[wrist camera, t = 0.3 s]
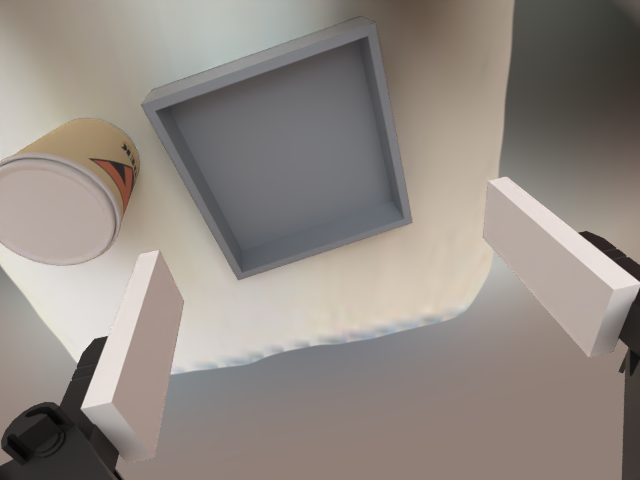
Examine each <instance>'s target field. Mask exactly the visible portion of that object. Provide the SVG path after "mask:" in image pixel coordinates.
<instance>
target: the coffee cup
mask: <svg viewBox="0 0 640 480" xmlns="http://www.w3.org/2000/svg"><path fill="white" fill-rule="evenodd" d="M138 170H139V157H138V153H137V150H136V148H135V146H134V144H133V143H132V141H131V140H130V138H129V137H128V136H127V135H126V134H125V133H124V132H123V131H121V130H120V129H119V128H117V127H116V126H114V125H112V124H110V123H108V122H105V121H102V120H98V119H92V118H81V119H75V120H72V121H70V122H68V123H66V124H64V125H62V126H60V127H58V128H57V129H55V130H53V131H52V132H50V133H48V134H47V135H45V136H43V137H42V138H40V139H38V140H37V141H35V142H33V143H32V144H30V145H28V146H27V147H25V148H23V149H22V150H20V151H19V152H17V153H16V154H14V155H13V156H10V157H7V158H5V159H3V160H1V161H0V243H2V244H3V245H4V246H5V247H6V248H8V249H10V250H11V251H13V252H15V253H16V254H18V255H20V256H22V257H25V258H27V259H29V260H32V261H36V262H39V263H43V264H49V265H58V266H59V265H75V264H80V263H84V262H86V261H89V260H91V259H94V258H96V257H98V256H100V255H101V254H103V253H104V252H106V251H107V250H108V249H109V248H110V247H111V246H112V244H113V243H114V242H115V240H116V238H117V236H118V233H119V230H120V225H121V221H122V218H123V215H124V213H125V210H126V207H127V204H128V201H129V198H130V195H131V192H132V189H133V187H134V184H135V181H136V178H137V174H138Z"/></svg>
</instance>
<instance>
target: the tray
mask: <svg viewBox="0 0 640 480" xmlns="http://www.w3.org/2000/svg"><path fill="white" fill-rule="evenodd" d="M141 106H142V108H143V109H144V111H145V113H146V115H147V117H148V118H149V120H150V122H151V124H152V126H153V128H154V129H155V131H156V133H157V135H158V137H159V138H160V140H161V142H162V144H163V146H164V147H165V149H166V151H167V153H168V155H169V156H170V158H171V160H172V162H173V164H174V165H175V167H176V169H177V171H178V173H179V174H180V176H181V178H182V180H183V182H184V183H185V185H186V187H187V189H188V191H189V192H190V194H191V196H192V198H193V200H194V202H195V203H196V205H197V207H198V209H199V211H200V212H201V214H202V216H203V218H204V220H205V221H206V223H207V225H208V227H209V229H210V230H211V232H212V234H213V236H214V238H215V239H216V241H217V243H218V245H219V247H220V248H221V250H222V252H223V254H224V256H225V257H226V259H227V261H228V263H229V265H230V266H231V268H232V270H233V272H234V274H235V276H236V277H237V279H238V280H241V279H244V278H247V277H250V276H253V275H256V274H259V273H262V272H265V271H268V270H271V269H274V268H277V267H280V266H283V265H286V264H289V263H292V262H295V261H298V260H301V259H304V258H307V257H310V256H313V255H316V254H319V253H322V252H325V251H328V250H331V249H335V248H338V247H341V246H344V245H347V244H350V243H353V242H356V241H359V240H362V239H365V238H368V237H371V236H374V235H377V234H380V233H383V232H386V231H389V230H392V229H395V228H398V227H401V226H404V225H407V224H410V223H413V222H412V217H411V211H410V206H409V201H408V195H407V190H406V184H405V179H404V174H403V168H402V163H401V158H400V152H399V147H398V141H397V136H396V131H395V125H394V120H393V115H392V109H391V104H390V98H389V93H388V88H387V82H386V77H385V72H384V66H383V61H382V55H381V50H380V45H379V39H378V34H377V29H376V23H375V22H374V21H372V20H369V19H367V18H364V17H362V16H359V17H357V18H354V19H351V20H348V21H345V22H342V23H340V24H337V25H334V26H331V27H328V28H325V29H323V30H320V31H317V32H314V33H311V34H308V35H306V36H303V37H300V38H297V39H294V40H291V41H289V42H286V43H283V44H280V45H277V46H275V47H272V48H269V49H266V50H263V51H260V52H258V53H255V54H252V55H249V56H246V57H243V58H241V59H238V60H235V61H232V62H229V63H226V64H224V65H221V66H218V67H215V68H212V69H209V70H207V71H204V72H201V73H198V74H195V75H192V76H190V77H187V78H184V79H181V80H178V81H175V82H173V83H170V84H167V85H164V86H161V87H159V88H156V89H153V90H152V91H151V92H150V94H149V95H148V96H147V97H146V99H145V100H144V101H143V103H142V104H141Z"/></svg>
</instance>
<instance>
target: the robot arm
mask: <svg viewBox="0 0 640 480" xmlns="http://www.w3.org/2000/svg"><path fill="white" fill-rule="evenodd" d="M483 238H484V239H485V240H486V242H487V243H488V244H489V245H490V246H491V247H492V248H493V250H494V251H495V252H496V253H497V254H498V255H499V256H500V257H501V258H502V260H503V261H504V262H505V263H506V264H507V265H508V266H509V268H510V269H511V270H512V271H513V272H514V273H515V274H516V276H517V277H518V278H519V279H520V280H521V281H522V282H523V283H524V285H525V286H526V287H527V288H528V289H529V290H530V291H531V292H532V294H533V295H534V296H535V297H536V298H537V299H538V300H539V301H540V303H541V304H542V305H543V306H544V307H545V308H546V309H547V310H548V312H549V313H550V314H551V315H552V316H553V317H554V319H556V321H557V322H558V323H559V324H560V325H561V326H562V327H563V329H564V330H565V331H566V332H567V333H568V334H569V335H570V336H571V338H572V339H573V340H574V341H575V342H576V343H577V344H578V346H579V347H580V348H581V349H582V350H583V351H584V352H585V353H586V355H587V356H588V357H589V358H590V357H594V356H599V355H603V354H607V353H612V352H614V349H615V347H616V345H617V342H618V340H619V338H620V339H621V340H622V341H623V342H624V343H625V344H626V345H627V346H628V347H629V349H628V351H627V353H626V355H625V358H624V360H623V362H622V365H621V367H620V369H619V372H621V373H623V372H624V370H625V394H624V426H623V460H622V462H623V463H622V480H640V265H639V264H637V263H636V262H635V261H633V260H632V259H631V258H629V257H626V255H625V254H624V253H623V252H621V251H620V250H617V249H616V247H614V246H613V245H612V244H611V243H609V242H608V241H607V240H605V239H604V238H602V237H600V236H597V235H595V234H593V233H590V232H588V231H585V232H580V233H577V232H576V231H575V230H573V229H572V228H571V227H569V226H568V225H567V224H566V223H564V222H563V221H562V220H561V219H559V218H558V217H557V216H555V215H554V214H553V213H552V212H550V211H549V210H548V209H547V208H546V207H544V206H543V205H542V204H540V203H539V202H538V201H537V200H535V199H534V198H533V197H532V196H530V195H529V194H528V193H526V192H525V191H524V190H523V189H522V188H520V187H519V186H518V185H516V184H515V183H514V182H513V181H511V180H510V179H509V178H508V177H503V178H498V179H493V180H489V181H488V187H487V197H486V207H485V217H484V227H483ZM183 304H184V300H183V298H182V296H181V294H180V292H179V290H178V288H177V286H176V284H175V281H174V279H173V277H172V275H171V273H170V271H169V269H168V267H167V265H166V262H165V260H164V258H163V256H162V254H161V252H160V250H156V251H151V252H146V253H142V254H139V257H138V260H137V262H136V265H135V267H134V270H133V273H132V275H131V278H130V281H129V283H128V286H127V288H126V291H125V294H124V296H123V299H122V302H121V304H120V307H119V309H118V312H117V315H116V317H115V320H114V323H113V325H112V328H111V330H110V333H109V336H106V337H101V338H97V339H94V340H93V341H92V342H91V344H90V345H89V346H88V347H87V348H86V350H85V351H84V352H83V353H82V356H81V358H80V360H79V363H78V365H77V369H76V370H75V372H74V374H73V377H72V381H71V382H70V384H69V386H68V388H67V391H66V393H65V395H64V397H63V400H62V402H61V404H60V407H59V406H58V405H56V404H55V403H53V402H44V403H41V404H38V405H34V406H33V407H31V408H29V409H28V410H26V411H24V412H23V413H21V414H20V415H19V416H18V417H17V418H16V419H14V420H13V421H12V423H11V424H10V425H9V427H8V428H7V429H6V430H5V433H4V435H3V438H2V440H1V445H2V449H3V450H4V451H5V452H6V453H7V454H9V455H10V456H11V457H12V458H13V460H11V461H9V462H7V463H5V464H3V465H1V466H0V480H124V479H123V477H122V476H121V474H120V473H119V472H118V471H117V470H116V469H115V467H116V463H117V459H118V455H119V454H120V456H121V457H122V458H123V459H124V460H125V461H126V463H127V464H129V463H133V462H138V461H142V460H146V459H151V458H154V456H155V451H156V445H157V440H158V435H159V430H160V425H161V419H162V414H163V408H164V403H165V398H166V393H167V388H168V382H169V378H170V372H171V367H172V362H173V357H174V351H175V346H176V341H177V336H178V331H179V325H180V320H181V315H182V310H183Z"/></svg>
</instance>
